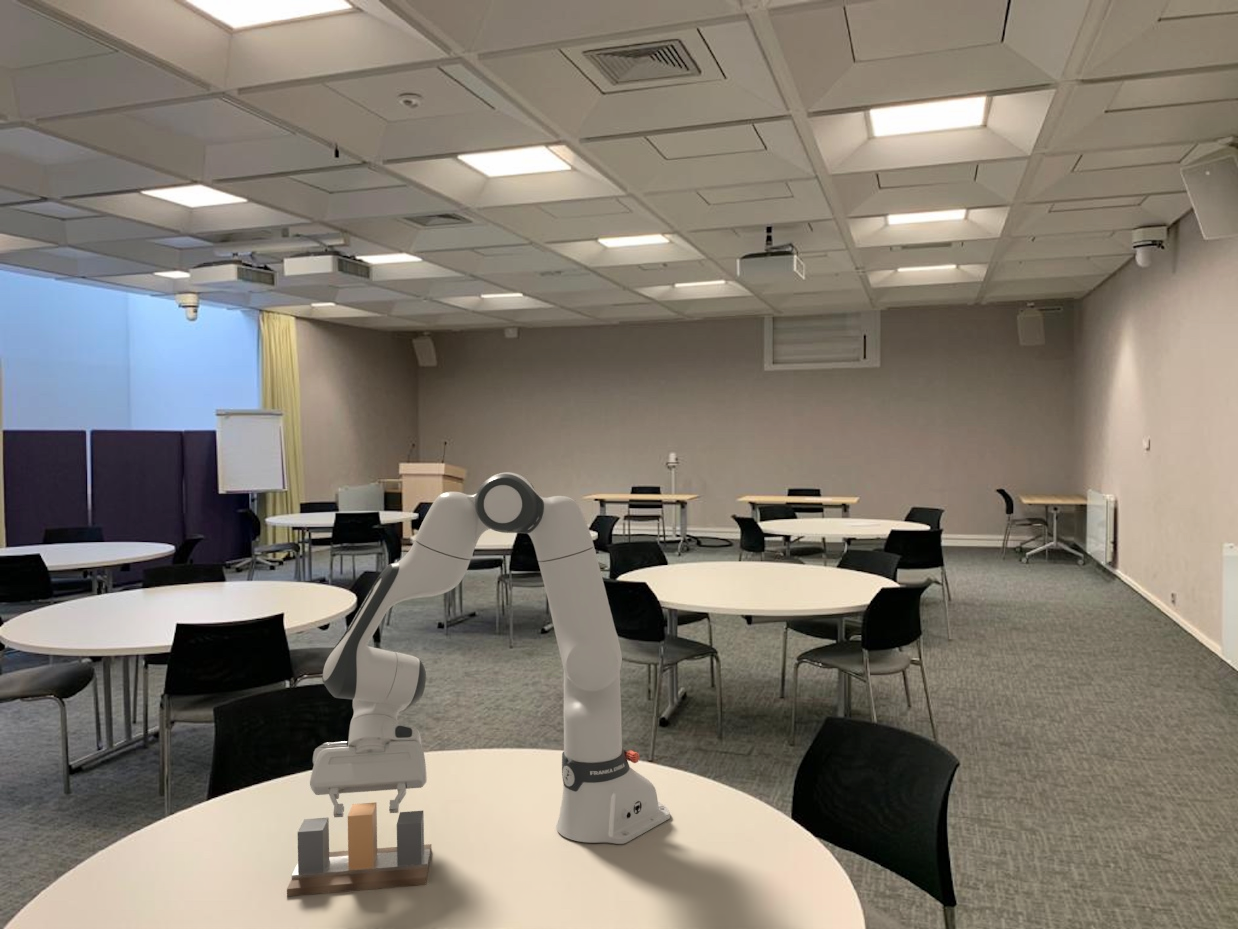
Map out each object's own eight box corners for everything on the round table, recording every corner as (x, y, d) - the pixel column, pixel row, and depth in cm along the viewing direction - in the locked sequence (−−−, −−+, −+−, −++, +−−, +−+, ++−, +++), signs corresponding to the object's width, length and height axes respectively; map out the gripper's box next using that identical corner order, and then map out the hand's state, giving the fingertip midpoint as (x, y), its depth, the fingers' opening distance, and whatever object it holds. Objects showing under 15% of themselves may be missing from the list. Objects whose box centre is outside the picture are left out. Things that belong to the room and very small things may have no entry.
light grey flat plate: (430, 852, 147) (430, 849, 147) (427, 867, 142) (427, 864, 142) (299, 863, 144) (299, 859, 144) (291, 879, 138) (291, 875, 138)
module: (377, 854, 145) (376, 802, 145) (373, 868, 141) (372, 814, 140) (353, 855, 145) (352, 804, 145) (348, 870, 140) (347, 816, 140)
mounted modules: (424, 850, 147) (423, 810, 147) (421, 864, 142) (420, 822, 142) (305, 859, 144) (304, 819, 144) (298, 874, 139) (297, 832, 139)
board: (431, 850, 150) (431, 844, 150) (426, 884, 138) (425, 877, 138) (303, 861, 147) (303, 854, 147) (286, 896, 135) (286, 889, 135)
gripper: (312, 735, 153) (301, 811, 143) (426, 728, 156) (423, 802, 146) (317, 751, 157) (307, 825, 148) (428, 744, 160) (425, 816, 151)
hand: (366, 814), depth 147 cm, fingers open, 8 cm apart
